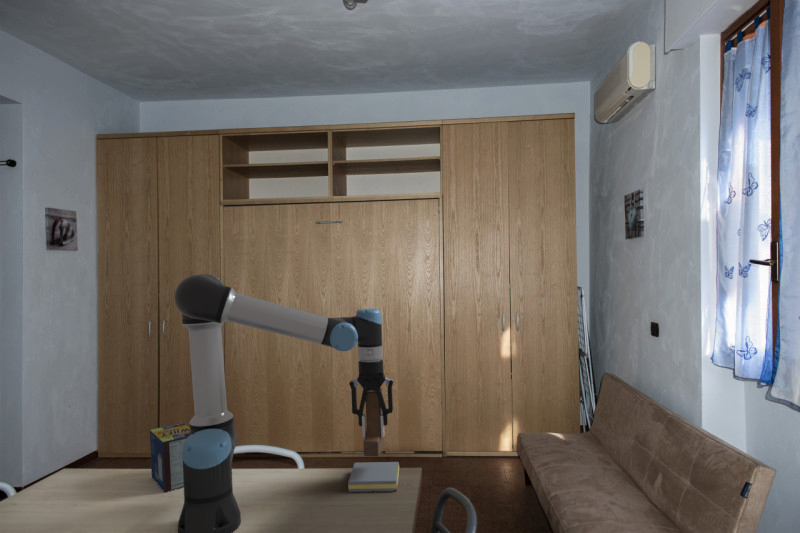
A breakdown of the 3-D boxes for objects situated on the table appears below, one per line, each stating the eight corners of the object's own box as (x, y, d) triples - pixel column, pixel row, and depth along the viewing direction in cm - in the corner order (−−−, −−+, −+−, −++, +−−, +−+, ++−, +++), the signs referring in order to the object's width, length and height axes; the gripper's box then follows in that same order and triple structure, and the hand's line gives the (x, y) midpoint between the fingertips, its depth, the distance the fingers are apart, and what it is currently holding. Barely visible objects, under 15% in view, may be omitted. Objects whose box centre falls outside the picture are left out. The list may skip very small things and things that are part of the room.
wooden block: (378, 456, 149) (375, 396, 149) (363, 456, 150) (361, 396, 150) (384, 445, 158) (382, 388, 158) (370, 445, 159) (368, 388, 159)
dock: (348, 492, 147) (348, 481, 147) (354, 472, 161) (354, 462, 161) (397, 491, 146) (396, 481, 146) (399, 471, 160) (399, 461, 160)
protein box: (184, 468, 169) (183, 422, 169) (200, 482, 157) (198, 433, 157) (150, 477, 162) (149, 429, 162) (164, 493, 150) (162, 441, 150)
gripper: (339, 363, 150) (342, 441, 150) (399, 361, 149) (402, 439, 149) (343, 358, 158) (346, 432, 158) (400, 356, 157) (403, 431, 157)
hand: (373, 435), depth 154 cm, fingers closed on wooden block, 5 cm apart
